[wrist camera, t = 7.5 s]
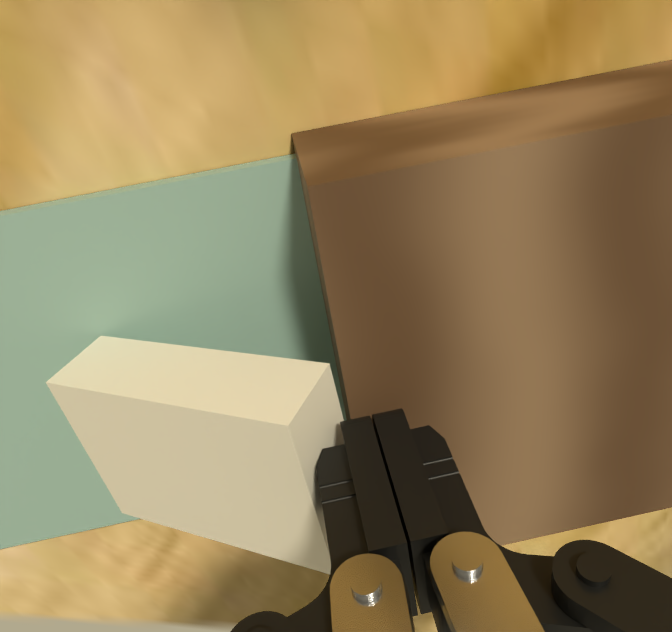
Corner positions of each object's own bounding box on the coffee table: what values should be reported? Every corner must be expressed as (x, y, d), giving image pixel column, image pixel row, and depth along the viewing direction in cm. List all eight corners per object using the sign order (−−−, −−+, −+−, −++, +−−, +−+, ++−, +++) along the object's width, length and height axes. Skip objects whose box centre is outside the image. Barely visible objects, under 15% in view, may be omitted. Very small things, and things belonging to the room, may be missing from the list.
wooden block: (866, 22, 15) (1046, 40, 12) (761, 385, 22) (859, 465, 18) (291, 133, 15) (307, 186, 11) (356, 473, 21) (379, 573, 18)
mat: (295, 153, 15) (296, 157, 15) (354, 463, 21) (356, 471, 20) (-232, 256, 14) (-243, 263, 14) (-20, 544, 20) (-25, 554, 20)
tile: (329, 363, 13) (288, 426, 12) (366, 510, 16) (336, 576, 14) (101, 335, 16) (45, 382, 15) (163, 463, 19) (122, 513, 17)
